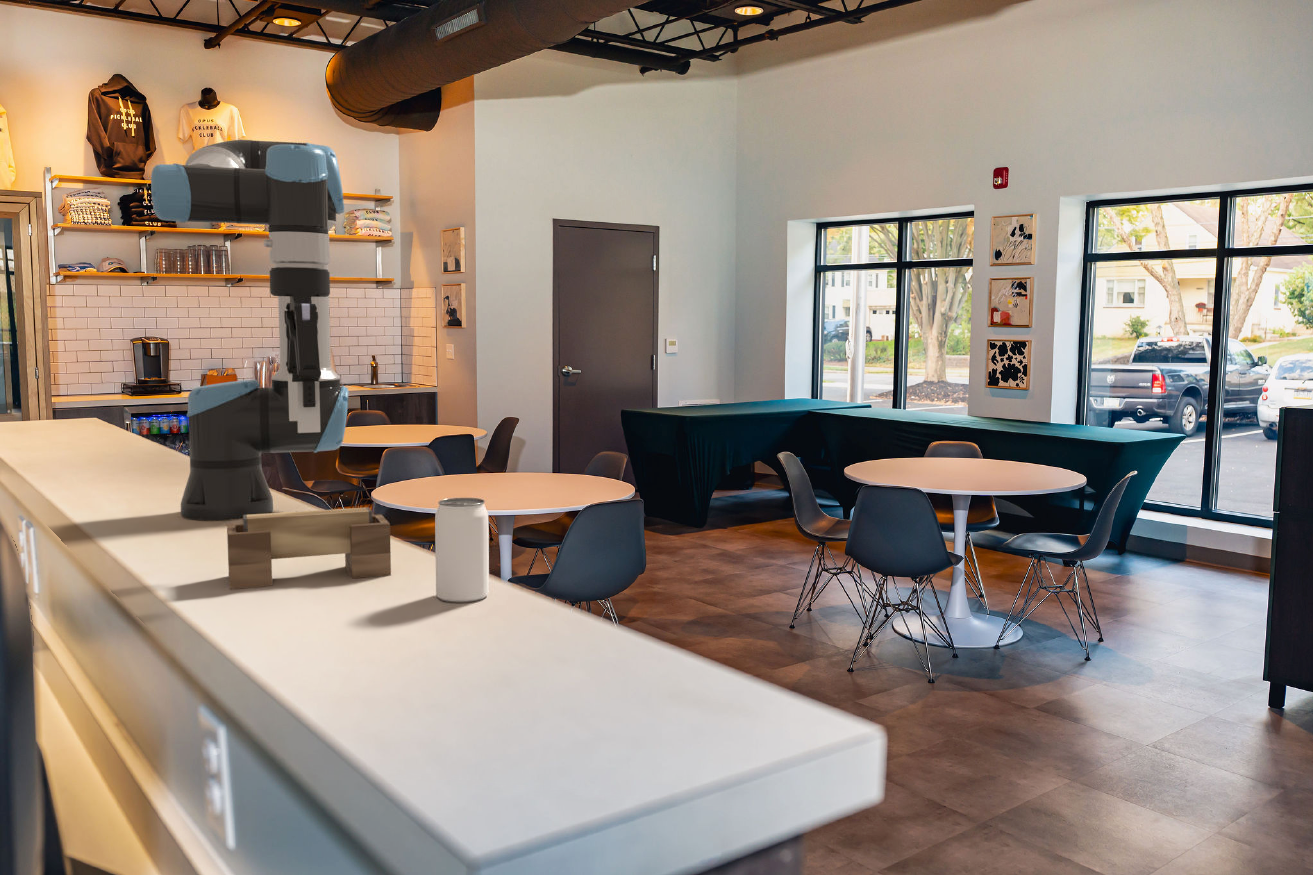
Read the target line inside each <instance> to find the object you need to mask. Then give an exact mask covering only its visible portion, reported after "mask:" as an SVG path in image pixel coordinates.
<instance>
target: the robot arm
mask: <svg viewBox="0 0 1313 875" xmlns="http://www.w3.org/2000/svg"><path fill="white" fill-rule="evenodd" d="M150 178H151V179H150V184H151V185H150V187H151V188H150V189H151V202H152V203H151V204H152V207H153V212H154V214H155V216H156V218H158V219H159V220H161V221H168V222H169V221H170V222H178V223H181V224H182V223H183V224H184V223H212V224H213V223H216V224H217V223H220V224H222V223H223V224H237V225H238V224H239V225H240V224H243V225H259V226H260V225H261V226H262V225H265V226H268V227H267V228H268V237H269V239H265V240H263V246H264V247H265V248H271V249H270V250H268V251H269V252H268V253H269V255H268V256H269V262H270V263H271V264H274V267H272V268H270V270H269V293H270V294H271V296H273V297H277V299H278V300H277V303H278V334H279V337H278V338H279V364H280V365H279V369H278V370H277V371H276V372H275V374H273V375H272V376H271V387H261V384H260V383H259V380H257V379H246V380H243V379H242V380H236V381H227V382H220V383H219V382H218V383H212V384H207V385H202V386H198V387H195V388H193V389H192V390H190V392H189V394H188V397H187V413H186V417H187V418H188V419H187V420H188V441H189V443H188V444H189V447H188V448H189V475H188V478H187V481H186V485H185V487H184V488H185V489H184V491H183V495H182V498H181V501H180V515H181V517H183V518H185V519H190V520H199V521H201V520H202V521H219V520H220V521H222V520H223V521H224V520H239V519H243V515H252V514H268V513H273V511H274V499H273V495H272V492H271V490H270V488H269V485H268V483H267V479H266V477H265V474H264V471H263V468H262V454H264V453H266V454H268V453H271V454H272V453H273V454H274V453H301V452H306V453H307V452H313V453H314V454H315V453H318V452H325V451H326V452H327V451H335V450H338V449H340V447H341V446H342V444H343V442H344V437H345V432H346V431H345V430H346V425H347V417H348V416H347V415H348V405H349V403H348V402H349V394H350V393H349V387H347V386H345V385H341V377H340V375H339V374H337V372H335V371H334V370H333V368H332V366H331V365H332V364H331V363H332V362H331V360H332V358H331V357H332V356H331V355H332V354H331V324H330V321H331V320H330V319H331V318H330V317H331V316H330V294H331V280H330V279H331V276H330V271H329V264H330V262H331V260H330V259H331V258H330V233H329V231H331V230H332V229H333V228H334V227H335V226H336V224H337V215H341V214H343V213H344V212H345V203H344V202H345V201H344V195H343V194H344V191H343V186H342V180H341V179H342V178H341V173H340V167H339V162H338V158H337V154H336V153H335V151H334V149H332V148H331V147H330V146H328V145H323V144H315V143H309V142H290V141H289V142H287V141H269V140H267V141H266V140H254V139H253V140H252V139H234V140H232V139H231V140H227V141H222V142H215V143H212V144H209V145H205V146H202V147H201V148H198V149H197V150H195V151H194V152H192V153H191V154H190V156H189V157H188V158H187V160H186V161H185V164H180V163H172V164H165V163H164V164H162V163H161V164H156V165H155V166H154V167H153V168H152V171H151V177H150Z"/></svg>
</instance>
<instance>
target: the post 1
mask: <svg viewBox="0 0 1313 875" xmlns="http://www.w3.org/2000/svg"><path fill="white" fill-rule="evenodd" d="M226 540H227V561H228V562H227V565H228V581H229V590H236V589H237V590H238V589H246V588H247V589H248V588H258V587H271V586H273V567H272V565H273V564H272V563H273V562H272V559H271V532H270V530H266V531H251V532H244V526H243V522H242V523H230V524H229V523H227V524H226Z"/></svg>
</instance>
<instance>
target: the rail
mask: <svg viewBox="0 0 1313 875" xmlns="http://www.w3.org/2000/svg"><path fill="white" fill-rule="evenodd" d="M372 515H373V511H372V510H371V508H370V507H366V506H365V507H353V508H337V509H335V508H334V509H320V510H319V509H318V510H303V511H302V510H301V511H290V512H289V511H287V512H274V513H273V512H270V513H267V514H252V515H243V518H242V521H243V522H242V523H243V526H244V532H251V531H266V530H270V532H271V560H278V559H292V558H306V557H318V556H320V557H321V556H329V555H342V554H343V555H345V553H351V539H350V525H354V524H369V523H372Z"/></svg>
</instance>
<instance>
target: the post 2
mask: <svg viewBox="0 0 1313 875" xmlns="http://www.w3.org/2000/svg"><path fill="white" fill-rule="evenodd" d="M350 539H351V553H345V554H344V560H345V563H344V564H345V568H346V570H347V571H348V573H349V575H350V576H351V578H352V579H359V578H360V579H363V578H373V577H381V576H382V577H383V576H391V575H392V569H391V568H392V561H391V559H392V558H391V557H392V556H391V523H390V522H389V521H388V520H387V519H386V518H385V517H384V516H383V515H382V514H381V513H379V514H372V523H369V524H354V525H350Z"/></svg>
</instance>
